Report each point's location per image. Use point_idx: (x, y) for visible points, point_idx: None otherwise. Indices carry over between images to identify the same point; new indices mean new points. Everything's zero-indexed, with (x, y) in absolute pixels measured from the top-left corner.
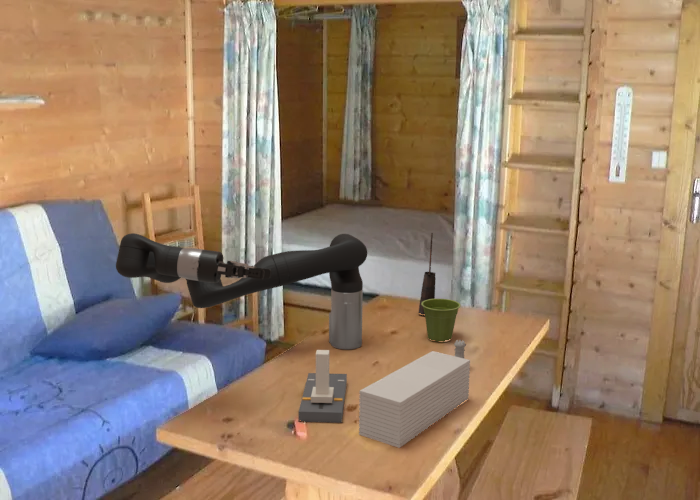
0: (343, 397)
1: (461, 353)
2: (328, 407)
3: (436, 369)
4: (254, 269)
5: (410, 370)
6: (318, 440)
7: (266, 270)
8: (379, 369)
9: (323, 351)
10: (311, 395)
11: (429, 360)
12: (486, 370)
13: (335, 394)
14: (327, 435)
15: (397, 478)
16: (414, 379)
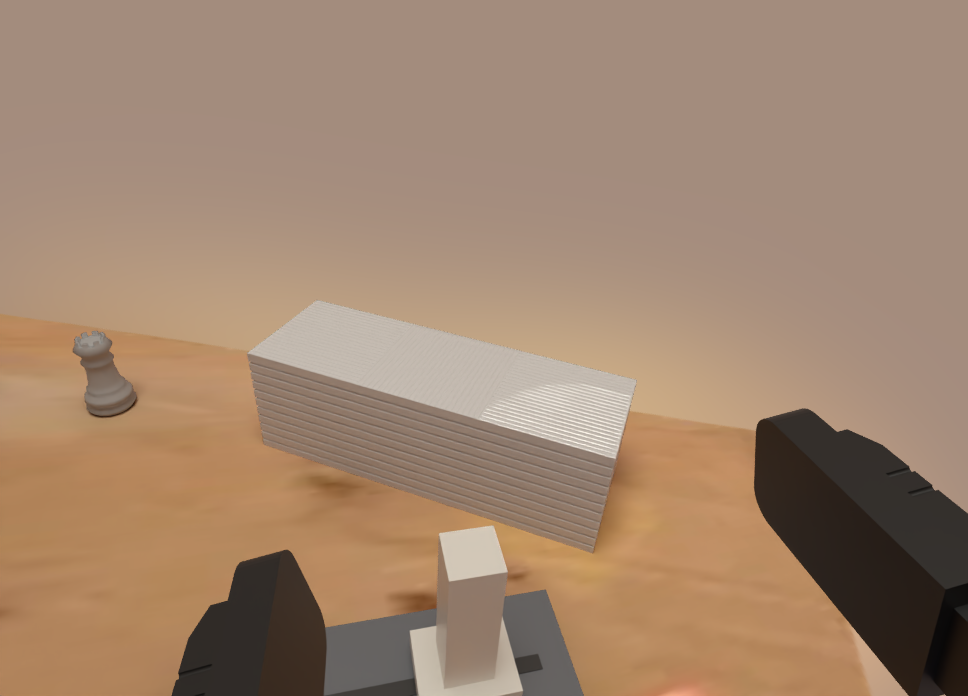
0: (425, 611)
1: (112, 361)
2: (522, 638)
3: (396, 341)
4: (897, 502)
5: (417, 379)
6: (683, 646)
7: (280, 607)
8: (59, 587)
9: (461, 551)
10: (511, 692)
11: (331, 353)
12: (136, 362)
13: (404, 643)
14: (639, 629)
15: (738, 456)
16: (481, 369)
